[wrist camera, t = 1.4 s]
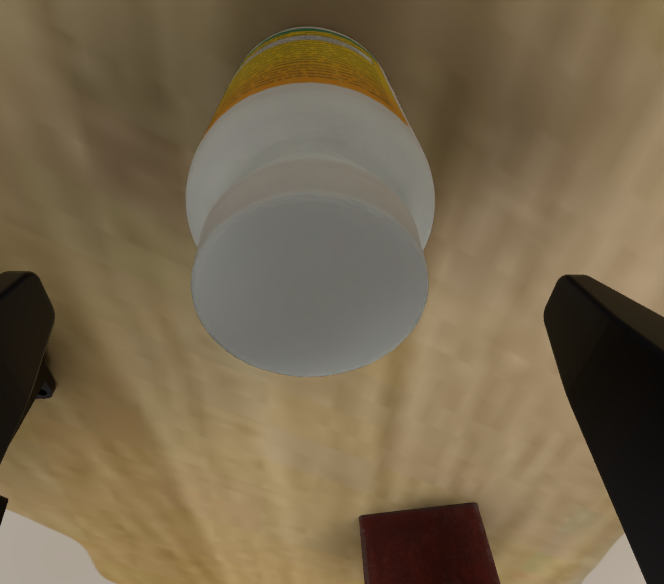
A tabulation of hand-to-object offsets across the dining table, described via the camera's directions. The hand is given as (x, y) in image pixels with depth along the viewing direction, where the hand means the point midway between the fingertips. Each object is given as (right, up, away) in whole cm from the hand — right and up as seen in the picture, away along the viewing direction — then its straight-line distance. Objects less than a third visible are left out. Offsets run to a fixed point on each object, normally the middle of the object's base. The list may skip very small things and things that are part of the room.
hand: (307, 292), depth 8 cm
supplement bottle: (0, +6, +7) cm, 9 cm away
